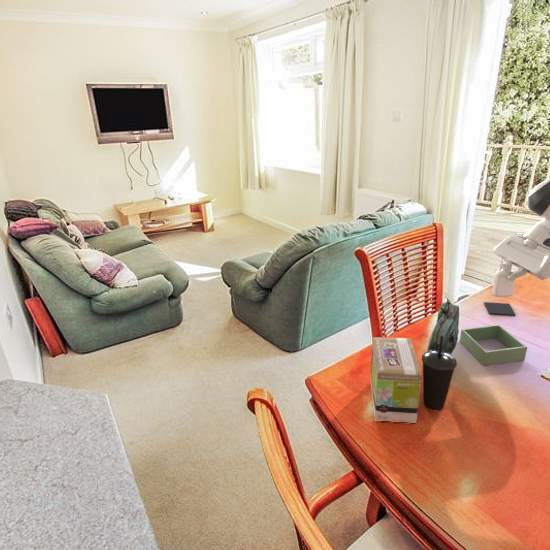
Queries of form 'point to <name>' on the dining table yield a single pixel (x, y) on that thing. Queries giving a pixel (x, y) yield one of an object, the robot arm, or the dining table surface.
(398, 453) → the dining table surface
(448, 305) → the dark green backpack
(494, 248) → the robot arm
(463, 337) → the crate
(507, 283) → the eye dropper bottle
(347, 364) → the dining table surface
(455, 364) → the drinking cup
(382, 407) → the tea box
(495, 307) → the coaster
